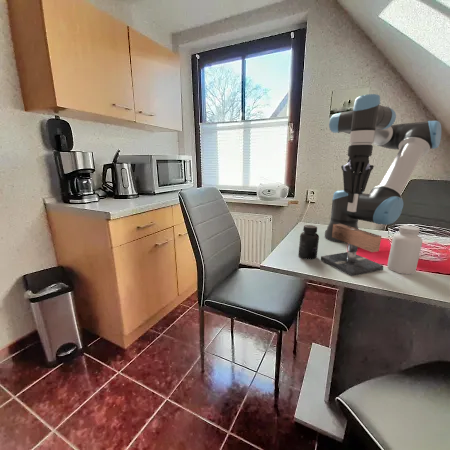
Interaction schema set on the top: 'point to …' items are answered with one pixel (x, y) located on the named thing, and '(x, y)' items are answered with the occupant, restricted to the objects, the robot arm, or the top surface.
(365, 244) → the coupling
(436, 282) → the top surface
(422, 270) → the top surface
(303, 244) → the supplement bottle
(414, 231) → the pill bottle
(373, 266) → the post base
